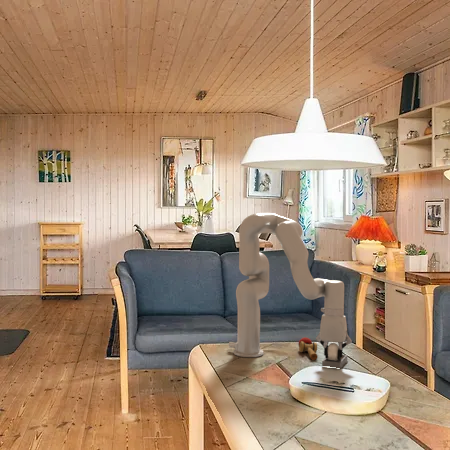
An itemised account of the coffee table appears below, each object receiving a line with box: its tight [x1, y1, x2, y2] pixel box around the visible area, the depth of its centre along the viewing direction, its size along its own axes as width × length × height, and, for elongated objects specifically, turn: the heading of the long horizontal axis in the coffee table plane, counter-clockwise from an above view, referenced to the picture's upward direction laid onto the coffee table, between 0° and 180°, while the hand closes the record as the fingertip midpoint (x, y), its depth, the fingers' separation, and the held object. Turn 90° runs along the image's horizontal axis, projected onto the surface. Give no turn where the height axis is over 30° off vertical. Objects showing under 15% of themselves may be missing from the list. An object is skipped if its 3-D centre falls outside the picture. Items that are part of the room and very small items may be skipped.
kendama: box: [298, 336, 318, 361], centre depth 257 cm, size 8×6×18 cm
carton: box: [321, 354, 348, 369], centre depth 242 cm, size 7×13×7 cm, turn 156°
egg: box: [328, 342, 339, 360], centre depth 239 cm, size 4×4×6 cm
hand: (333, 357), depth 239 cm, fingers closed on egg, 4 cm apart
